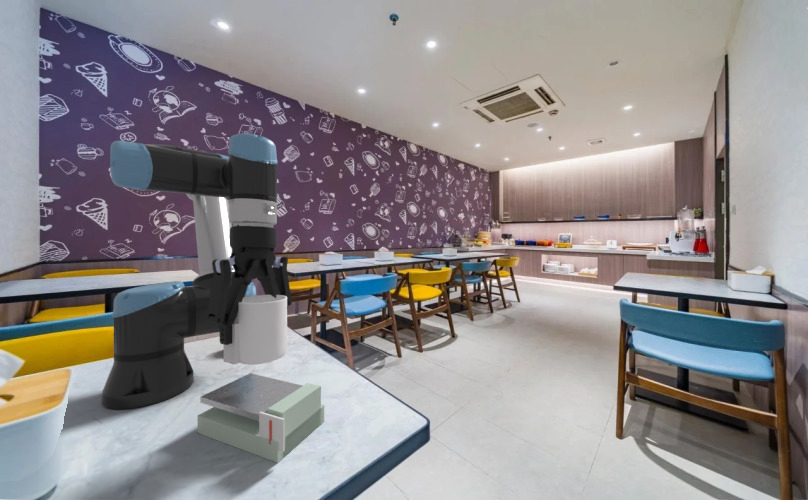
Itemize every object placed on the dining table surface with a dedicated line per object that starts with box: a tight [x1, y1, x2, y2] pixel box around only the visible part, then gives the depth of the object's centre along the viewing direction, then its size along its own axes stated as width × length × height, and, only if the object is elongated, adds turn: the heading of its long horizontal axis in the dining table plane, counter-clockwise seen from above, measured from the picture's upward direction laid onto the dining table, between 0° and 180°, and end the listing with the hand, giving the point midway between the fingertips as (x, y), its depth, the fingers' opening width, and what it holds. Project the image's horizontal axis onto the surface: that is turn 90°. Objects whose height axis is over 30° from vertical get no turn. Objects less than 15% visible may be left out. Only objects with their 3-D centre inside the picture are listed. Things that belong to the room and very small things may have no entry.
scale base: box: [197, 382, 325, 464], centre depth 51 cm, size 19×11×7 cm, turn 68°
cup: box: [235, 294, 288, 365], centre depth 53 cm, size 8×12×10 cm
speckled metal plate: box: [199, 373, 303, 421], centre depth 52 cm, size 14×10×3 cm
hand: (254, 352), depth 52 cm, fingers closed on cup, 8 cm apart
